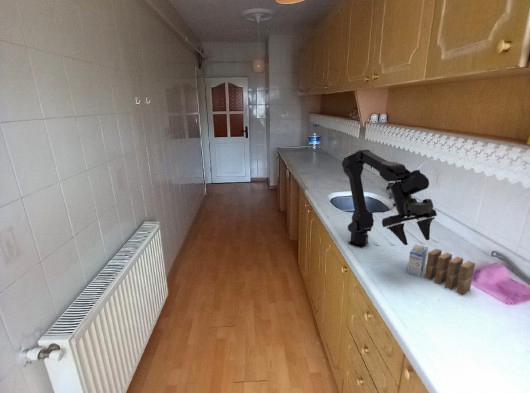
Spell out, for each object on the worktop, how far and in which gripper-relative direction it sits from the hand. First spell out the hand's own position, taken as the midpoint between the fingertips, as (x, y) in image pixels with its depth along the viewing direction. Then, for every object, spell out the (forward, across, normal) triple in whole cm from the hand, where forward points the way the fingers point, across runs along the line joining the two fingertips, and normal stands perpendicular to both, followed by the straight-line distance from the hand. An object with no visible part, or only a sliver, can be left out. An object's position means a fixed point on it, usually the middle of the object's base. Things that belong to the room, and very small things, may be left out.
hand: (417, 242), depth 99 cm
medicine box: (+10, +7, +12) cm, 17 cm away
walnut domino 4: (+18, +11, -1) cm, 21 cm away
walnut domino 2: (+15, +9, +5) cm, 18 cm away
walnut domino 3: (+16, +10, +2) cm, 19 cm away
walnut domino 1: (+13, +8, +8) cm, 17 cm away
